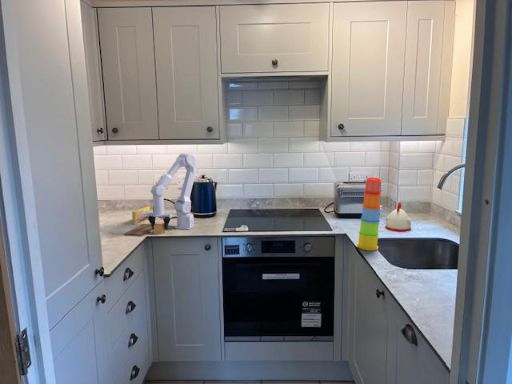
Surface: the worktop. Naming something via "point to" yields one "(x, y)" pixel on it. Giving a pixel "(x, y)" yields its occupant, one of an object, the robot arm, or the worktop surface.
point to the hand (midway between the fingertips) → (160, 229)
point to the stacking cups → (370, 215)
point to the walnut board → (140, 230)
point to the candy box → (140, 215)
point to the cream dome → (398, 221)
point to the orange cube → (159, 228)
